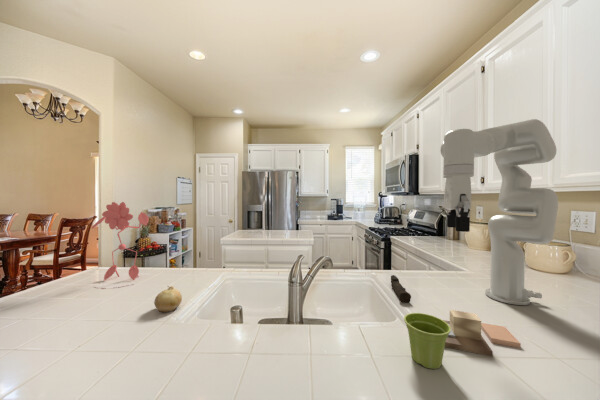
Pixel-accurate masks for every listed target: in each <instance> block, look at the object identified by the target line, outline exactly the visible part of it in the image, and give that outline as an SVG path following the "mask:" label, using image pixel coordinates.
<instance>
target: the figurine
mask: <svg viewBox="0 0 600 400" xmlns="http://www.w3.org/2000/svg"><path fill="white" fill-rule="evenodd" d="M101 216H102V217H101V218H99V219H98V220H97V221H96V222H95V223H94V224H93V225H92V227H91V229H94V228H96V227H97V226H99V225H100V224H101V223H103V222H104V223H105V224H106V225H107V224H108V226H109V229H110V230H114V229H115V230H117V231H118V230H119V231H118V232H117V237H118V240H119V243H120V244H119V245H118V247H117V248H116V249H114V250H112V252H111V254H112V255H111V257H112V265H111V266H110V267H109V268H108V270H106V272H105V274H104V277H103V280H104V281H106V280H108V279H109V278H111V277H112V276H113V275H114V274H115V273H116V276H117V277H120V274H119V273H118V270H117V269H118V266H117V264H114V263H115V261H114V252H116V251H117V250H120V251H124V250H128V251H131V252H135V258H134V261H133V265H132V266H130V267H129V270H128V276H129V277H130V279H131V280H133V281H135V280H136V278H139V272H140V270H139V267H138V265H136V261H137V255H138V251H135V250H132V249H130V248H127V245H126V244H125V243H122V240H121V237H120V233H122V232H123V231H124V230H126V229H128V228H134V229H141V225H143V226H146V227H147V226H148V223H149V220H150V219H149V216H148V214H146V212H140V213H139V214H138V217H137V220H138V222H139V225H138V226H134V225H133V226H131V225H130V222H129V221H130V220H132V219H133V218H134V215H133V214H131V213H130V207H127V205H126V202H125V201H122V202H120V203H119V204H118V203H117V202H115V201H112V202H111V204H106V210H105V211H103V212H102V213H101ZM133 285H134V283H132V284H131V286H133ZM128 286H130V285H129V284H128V285H127V287H128ZM124 287H125V285H124V286H116V287H114V289H119V288H124ZM94 288H95V289H97V287H96V286H94ZM102 290H105V287H102Z"/></svg>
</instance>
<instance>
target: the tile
mask: <svg viewBox="0 0 600 400" xmlns="http://www.w3.org/2000/svg"><path fill="white" fill-rule="evenodd" d="M481 332H483V334H484V335H485V336H486V337H487V338H488V340H489V341H490V343H491V344H498V345H504V346H509V347H513V348H519V349H521V342H520V341H519V340H518V339H517V338H516V337H515V336H514V335H513V333H511V331H510V330H509V329H508V328H507V327H506V326H503V325H496V324H490V323H484V322H481Z"/></svg>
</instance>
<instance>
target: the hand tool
mask: <svg viewBox="0 0 600 400" xmlns="http://www.w3.org/2000/svg"><path fill="white" fill-rule="evenodd" d="M390 284H391V285H390V286H391V288H392V289H393V290H394V292H395V293H396V295H397V296H398V300H399V302H400V301H401V302H400V303H403V302H404V304H406V303H407V304H408V303H410V302H411V299H412V294H410V293H409V292H407V290H406V287H404V286H403V285H402V284H401V283H400V281H399V278H398V277H397V276H396V275H394V274H393V275H392V274H391V276H390Z"/></svg>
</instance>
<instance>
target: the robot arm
mask: <svg viewBox="0 0 600 400" xmlns="http://www.w3.org/2000/svg"><path fill="white" fill-rule="evenodd" d="M439 152H440V154H441V156H442V158H443V171H442V172H443V175H442V177H443V178H445V184H444V194H443V195H444V199H443V208H444V209H445V210H447V212H446V213H447V214H446V227H447V228H455V232H465V233H469V232H470V229H471V227H470V226H471V222H470V221H471V220H470V219H471V215H470V214H471V213H470V211H471V210H470V209H471V207H472V182H471V178H473V177H474V176H475V158H479V157H480V158H481V157H486V156H488V155H490V154H493V158H494V162H495V164H496V167H497V169H498V171H499V173H500V175H501V185H500V190H499V195H498V198H497V199H498V202H497V207H498V209H499V210H500V211H501V212H504V213H510V214H496V215H493V216H492V217H490V218H489V220H488V221H487V222H488V223H487V227H488V234H489V239H490V288H487V289H485V290H484V294H485V295H486V296H487V297H489V298H490V299H491V300H492V299H493V300H495V301H499V302H502V303H504V304H510V305H514V306H528V305H530V304H531V300H530V299H531V298H535V299H543V294H542V293H541V292H537V291H535V292H534V291H533V290H529V289H526V288H525V269H526V268H525V264H526V263H525V259H526V257H525V252H524V250H523V249H522V247H521V246H520V245H519V244H518V242H521V243H527V244H529V243H530V244H537V245H538V244H539V245H547V244H549V243H551V242H552V240H553V238H554V236H555V229H556V222H557V215H558V209H559V207H558V206H559V199H558V195H557V193H556V191H554V190H553V189H551V188H548V187H532V182H533V181H532V180H533V177H532V176H531V175H530V173H528V171H526V170H525V169H523V168H522V167H520V166H521V165H522V166H523V165H533V164H542V163H548V162H551V161H552V160H554V159H555V157H556V155H557V146H556V142H555V141H554V138H553V137H552V134H551V133H550V131H549V129H548V127H547V126H546V125H545V123H544V122H543V121H542V120H539V119H537V118H534V119H533V118H532V119H527V120H524V121H523V120H522V121H518V122H514V123H509V124H504V125H503V124H502V125H500V126H499V125H498V126H494V127H488V128H485V129H482V130H475V131H474V130H473V129H471V128H458V129H454V130H449V131H448V132H446V133H445V135H444V136H443V142H442V143H441V145H440V151H439ZM531 187H532V188H531ZM518 214H519V215H518Z"/></svg>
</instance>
